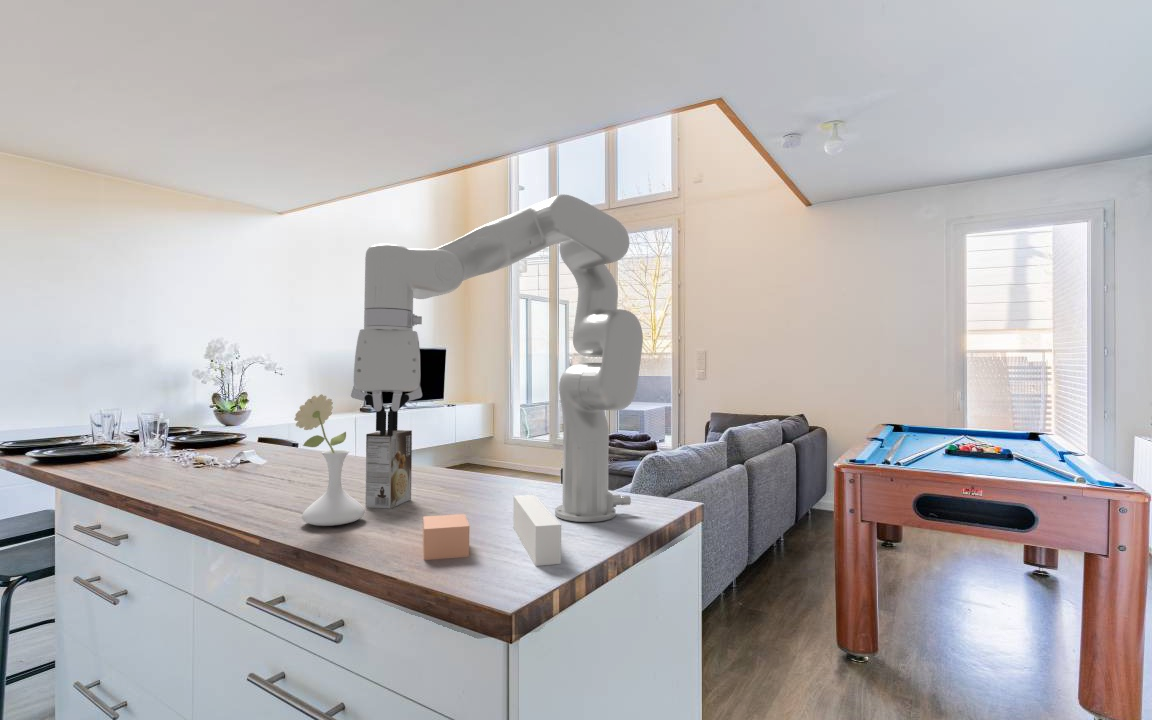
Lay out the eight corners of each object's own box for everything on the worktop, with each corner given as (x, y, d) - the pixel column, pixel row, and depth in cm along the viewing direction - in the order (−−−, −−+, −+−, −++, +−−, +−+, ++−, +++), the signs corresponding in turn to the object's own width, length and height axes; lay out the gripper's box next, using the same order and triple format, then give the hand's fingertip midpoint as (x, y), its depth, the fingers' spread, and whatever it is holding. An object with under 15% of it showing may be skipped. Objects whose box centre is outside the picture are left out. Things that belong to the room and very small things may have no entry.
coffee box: (386, 498, 130) (387, 429, 131) (411, 500, 129) (413, 430, 129) (364, 507, 121) (365, 433, 122) (391, 509, 120) (392, 434, 120)
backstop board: (533, 526, 107) (534, 494, 108) (560, 563, 86) (561, 524, 86) (513, 527, 106) (513, 495, 106) (535, 565, 85) (535, 526, 85)
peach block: (464, 542, 97) (464, 514, 97) (469, 557, 89) (469, 526, 90) (422, 546, 95) (423, 516, 95) (423, 561, 87) (424, 529, 88)
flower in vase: (351, 512, 117) (354, 392, 117) (375, 523, 108) (377, 394, 109) (283, 523, 108) (286, 393, 108) (303, 536, 99) (306, 395, 100)
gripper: (436, 325, 96) (434, 432, 96) (342, 322, 93) (339, 434, 92) (437, 321, 89) (435, 437, 89) (335, 318, 85) (332, 439, 85)
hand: (386, 435), depth 90 cm, fingers closed
